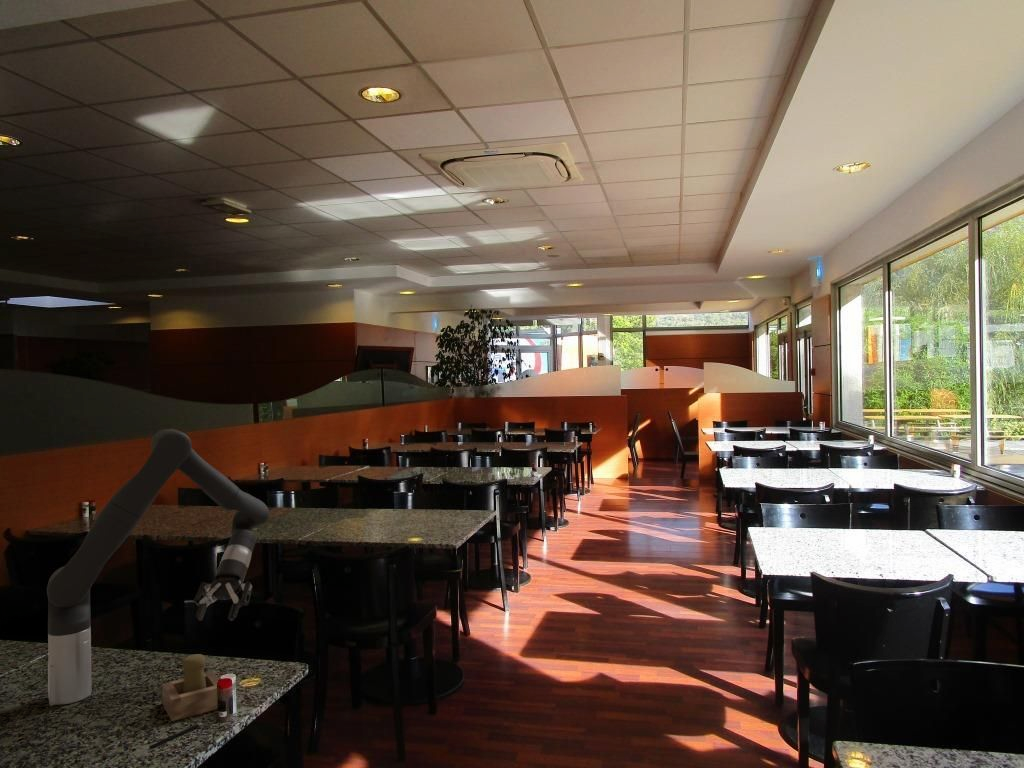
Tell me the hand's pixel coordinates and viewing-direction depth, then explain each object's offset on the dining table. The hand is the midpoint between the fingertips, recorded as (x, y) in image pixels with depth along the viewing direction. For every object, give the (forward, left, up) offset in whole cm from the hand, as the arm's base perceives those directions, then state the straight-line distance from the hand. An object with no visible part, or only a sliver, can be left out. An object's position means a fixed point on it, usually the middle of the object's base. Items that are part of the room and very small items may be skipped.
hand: (214, 619), depth 183 cm
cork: (-7, -8, -17) cm, 20 cm away
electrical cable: (-14, -23, -18) cm, 33 cm away
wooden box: (-7, -8, -18) cm, 21 cm away
